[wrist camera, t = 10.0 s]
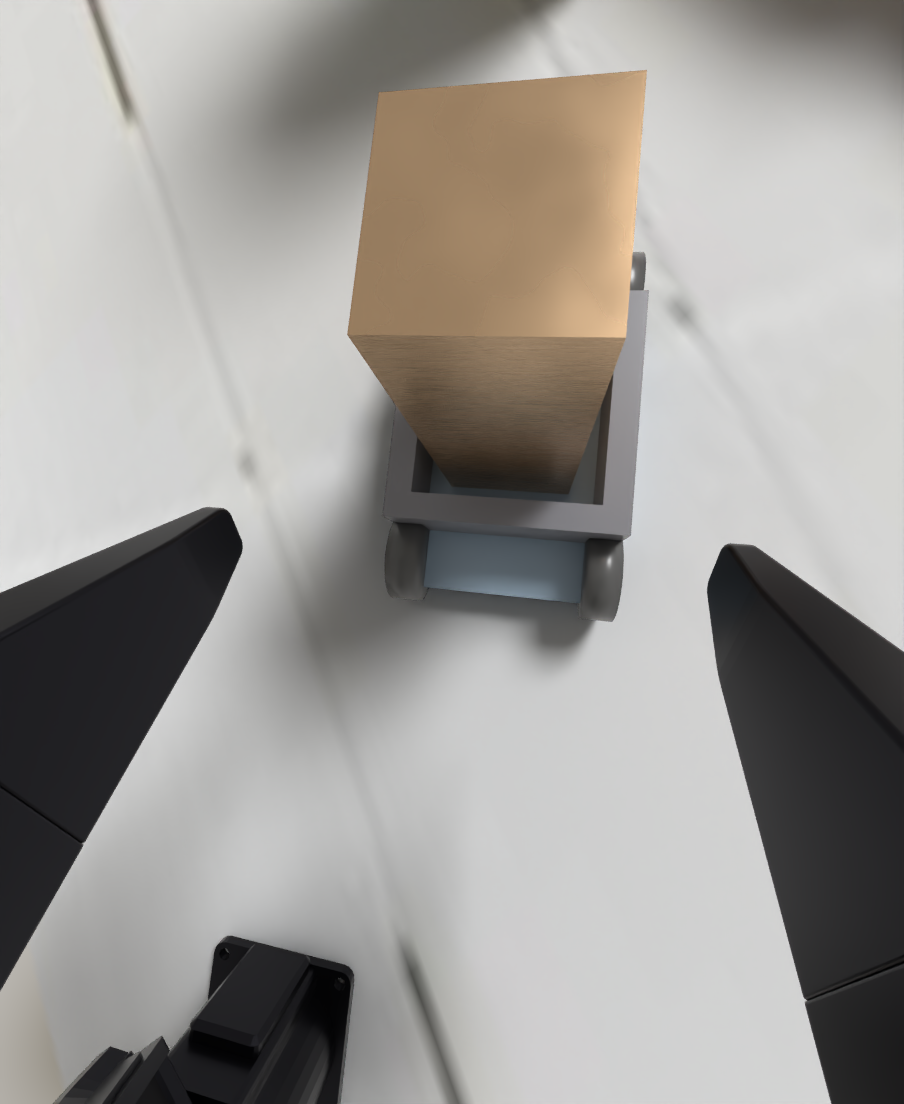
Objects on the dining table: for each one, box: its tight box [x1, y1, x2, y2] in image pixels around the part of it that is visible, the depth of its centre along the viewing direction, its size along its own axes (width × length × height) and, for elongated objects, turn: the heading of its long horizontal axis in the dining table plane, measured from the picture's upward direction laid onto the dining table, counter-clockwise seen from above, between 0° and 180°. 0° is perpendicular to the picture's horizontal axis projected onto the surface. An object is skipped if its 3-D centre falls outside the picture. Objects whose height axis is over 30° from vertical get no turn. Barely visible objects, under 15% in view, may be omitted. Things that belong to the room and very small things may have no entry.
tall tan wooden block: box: [347, 70, 647, 494], centre depth 14 cm, size 5×5×12 cm
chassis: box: [383, 252, 649, 622], centre depth 20 cm, size 15×9×4 cm, turn 174°
